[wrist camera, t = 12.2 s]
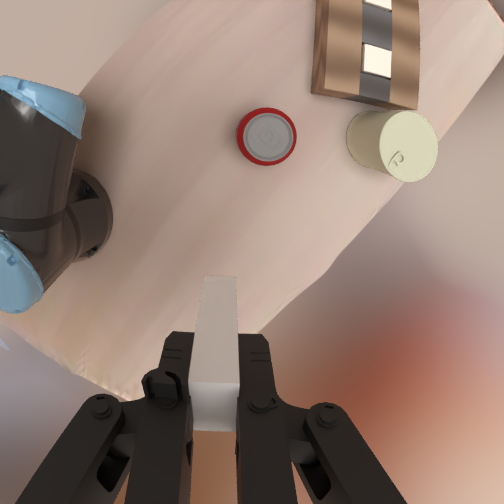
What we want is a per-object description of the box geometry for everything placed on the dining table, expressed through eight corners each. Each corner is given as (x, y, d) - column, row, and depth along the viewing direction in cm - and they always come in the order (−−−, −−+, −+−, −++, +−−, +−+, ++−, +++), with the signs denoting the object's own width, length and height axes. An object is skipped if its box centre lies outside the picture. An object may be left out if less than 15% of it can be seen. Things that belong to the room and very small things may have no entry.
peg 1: (348, 15, 34) (365, 1, 27) (348, -5, 32) (365, -21, 26) (371, 21, 34) (391, 9, 28) (371, 2, 32) (390, -12, 26)
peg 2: (345, 76, 38) (363, 70, 32) (346, 53, 36) (365, 43, 30) (369, 82, 38) (390, 77, 32) (370, 59, 37) (391, 51, 30)
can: (334, 136, 42) (366, 142, 31) (373, 99, 40) (414, 96, 29) (370, 179, 45) (408, 198, 34) (406, 143, 43) (450, 153, 32)
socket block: (394, 110, 41) (417, 110, 34) (310, 93, 39) (324, 88, 33) (396, -4, 32) (416, -16, 25) (317, -27, 31) (329, -45, 24)
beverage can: (254, 102, 40) (262, 94, 29) (291, 129, 42) (312, 132, 31) (226, 138, 42) (223, 143, 31) (264, 165, 44) (274, 180, 33)
